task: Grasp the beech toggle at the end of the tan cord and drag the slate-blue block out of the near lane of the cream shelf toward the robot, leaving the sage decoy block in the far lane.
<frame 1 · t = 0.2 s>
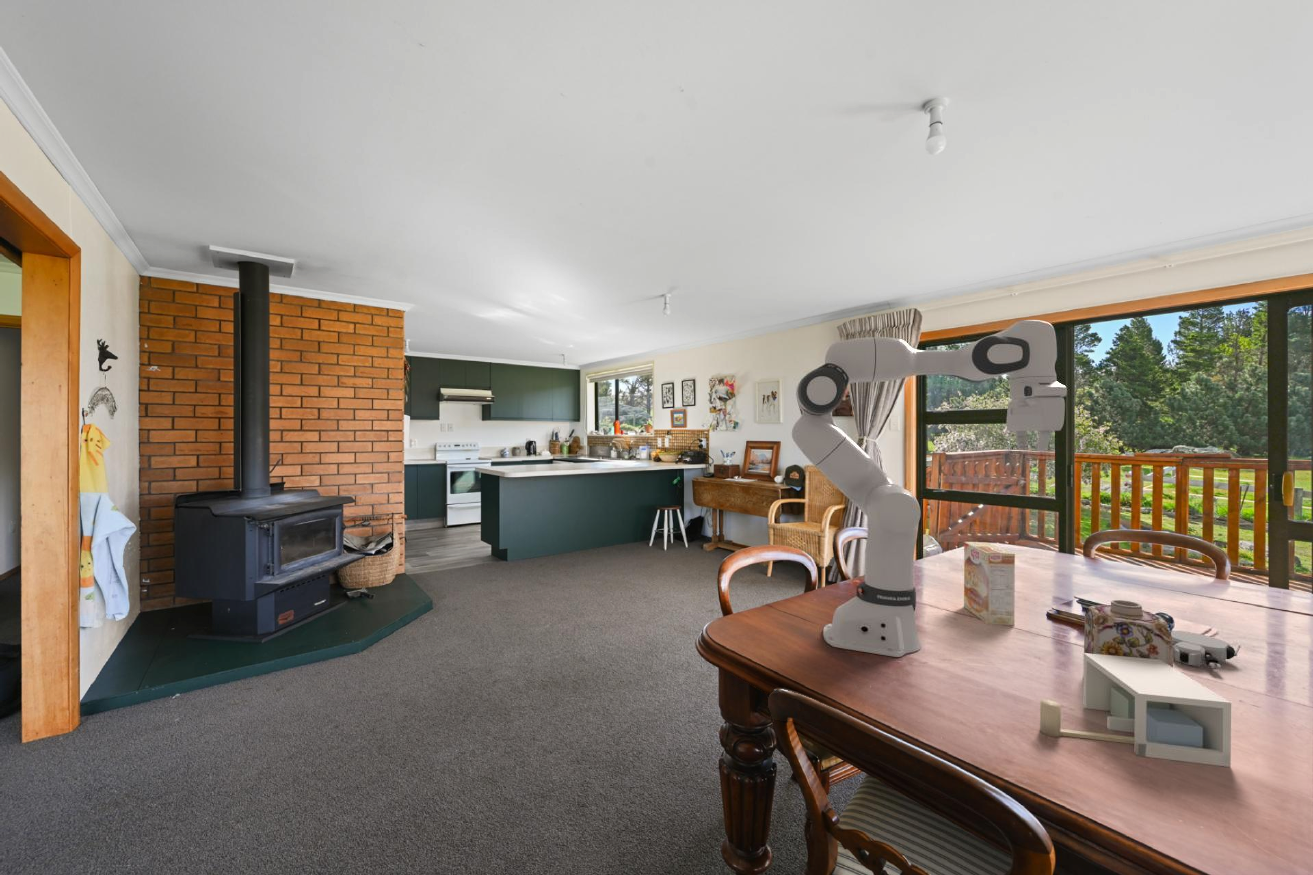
hand: (1032, 450, 122), 48 cm above the table, fingers open, 8 cm apart
decorative jar: (1125, 693, 105), on the table
decoy block: (1138, 722, 94), resting in shelf
robot toy: (1193, 661, 121), on the table
shelf: (1149, 733, 91), on the table
coffeecake box: (987, 616, 149), on the table
corded block: (1168, 746, 87), on the table
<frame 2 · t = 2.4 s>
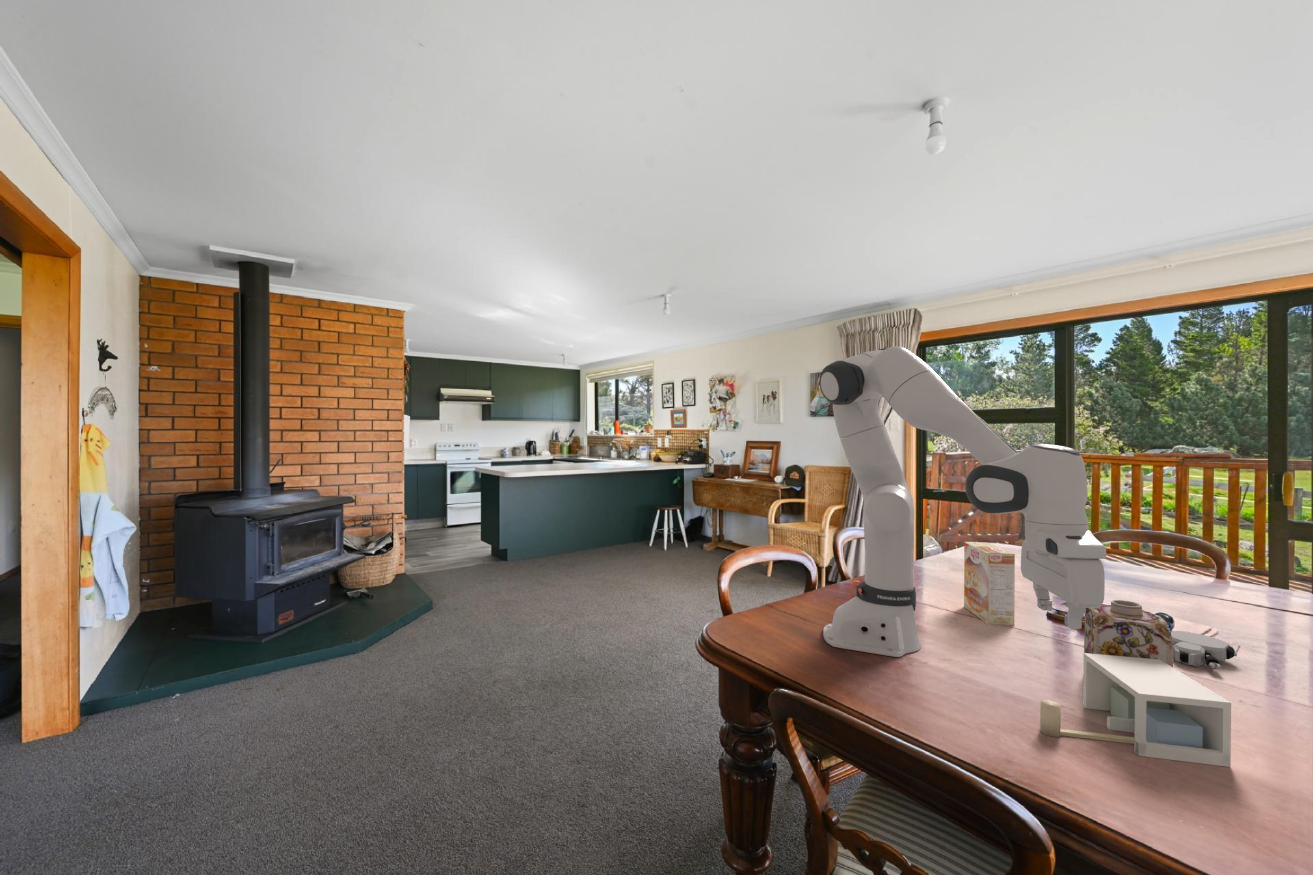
hand: (1058, 617, 91), 20 cm above the table, fingers open, 8 cm apart
nothing on the table moved.
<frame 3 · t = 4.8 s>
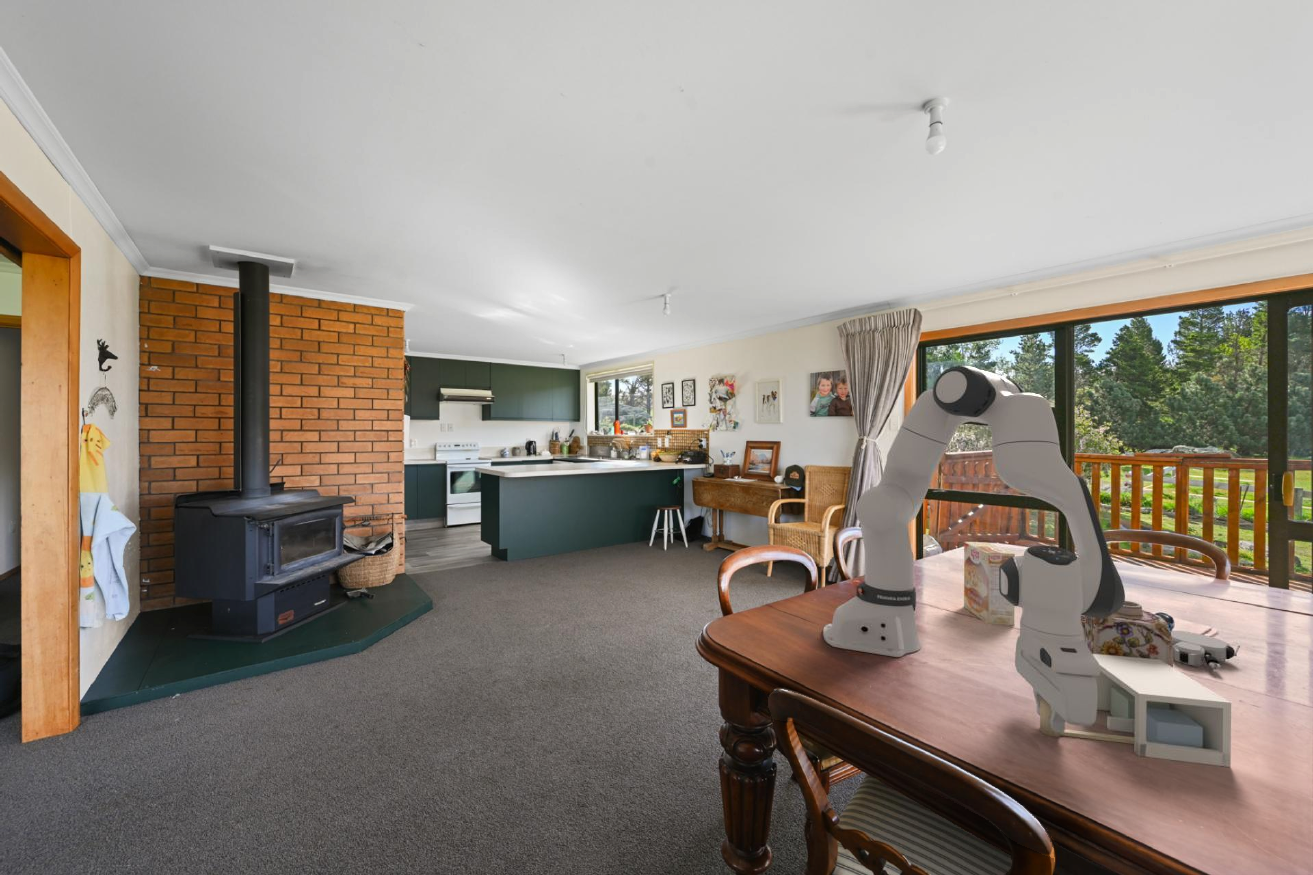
hand: (1050, 723, 91), 2 cm above the table, fingers closed on corded block, 3 cm apart
corded block: (1168, 746, 87), on the table, touching gripper
everything else where it was.
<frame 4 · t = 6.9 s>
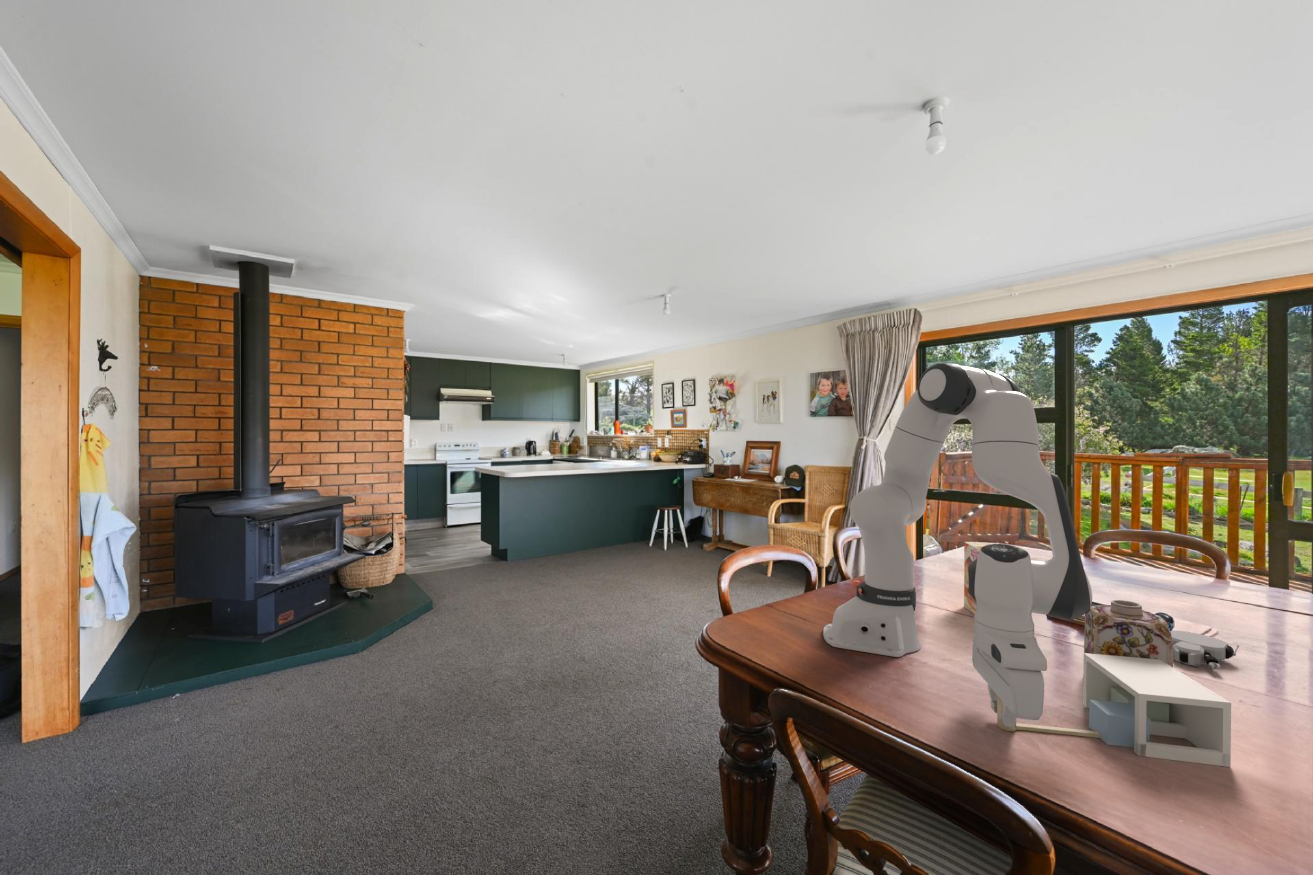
hand: (1002, 717, 93), 2 cm above the table, fingers closed on corded block, 3 cm apart
corded block: (1118, 738, 89), on the table, touching gripper
everything else where it was.
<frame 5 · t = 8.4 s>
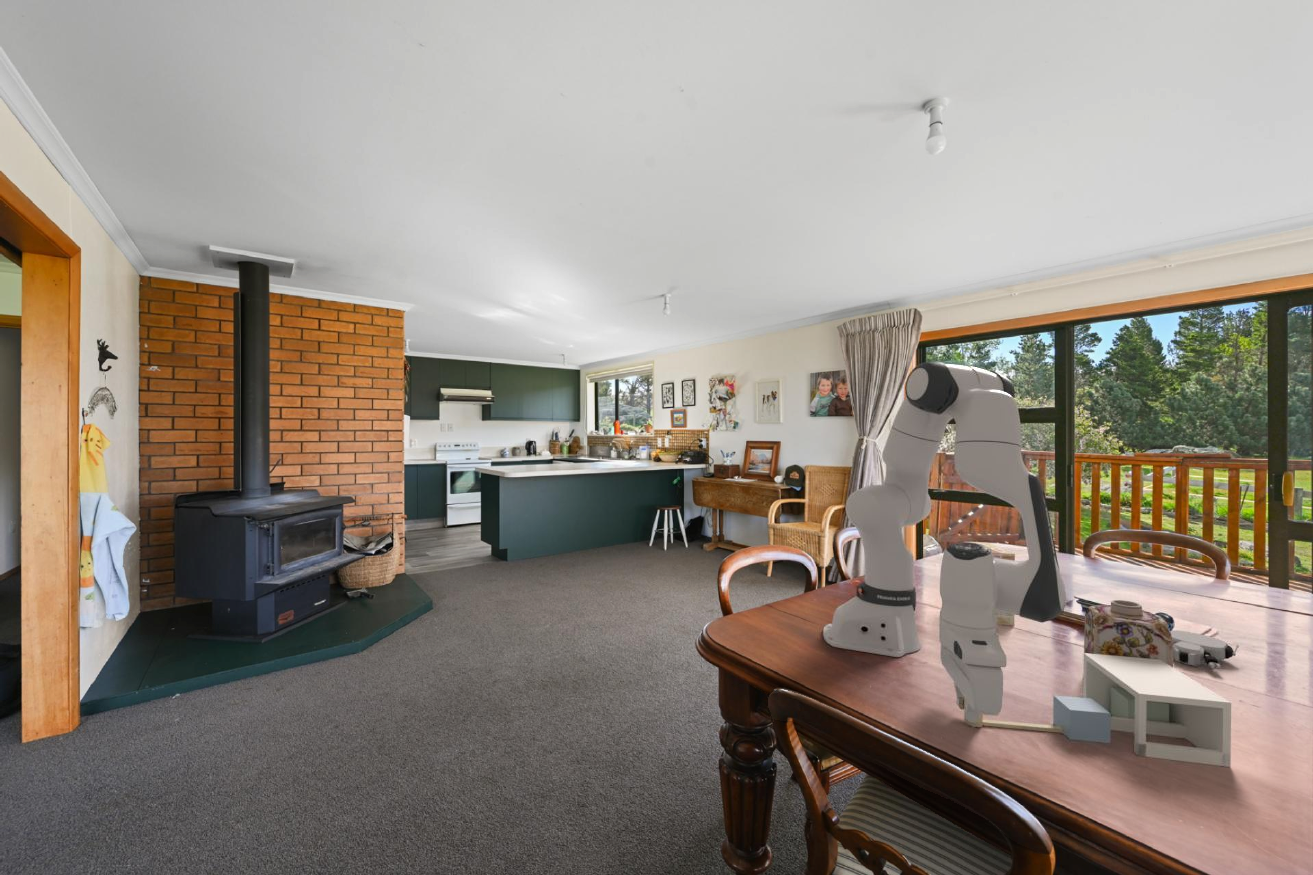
hand: (967, 713, 94), 2 cm above the table, fingers closed on corded block, 3 cm apart
corded block: (1080, 732, 91), on the table, touching gripper
everything else where it was.
when the fingers open (2 cm above the table, at t = 9.3 s): corded block stays where it is, on the table.
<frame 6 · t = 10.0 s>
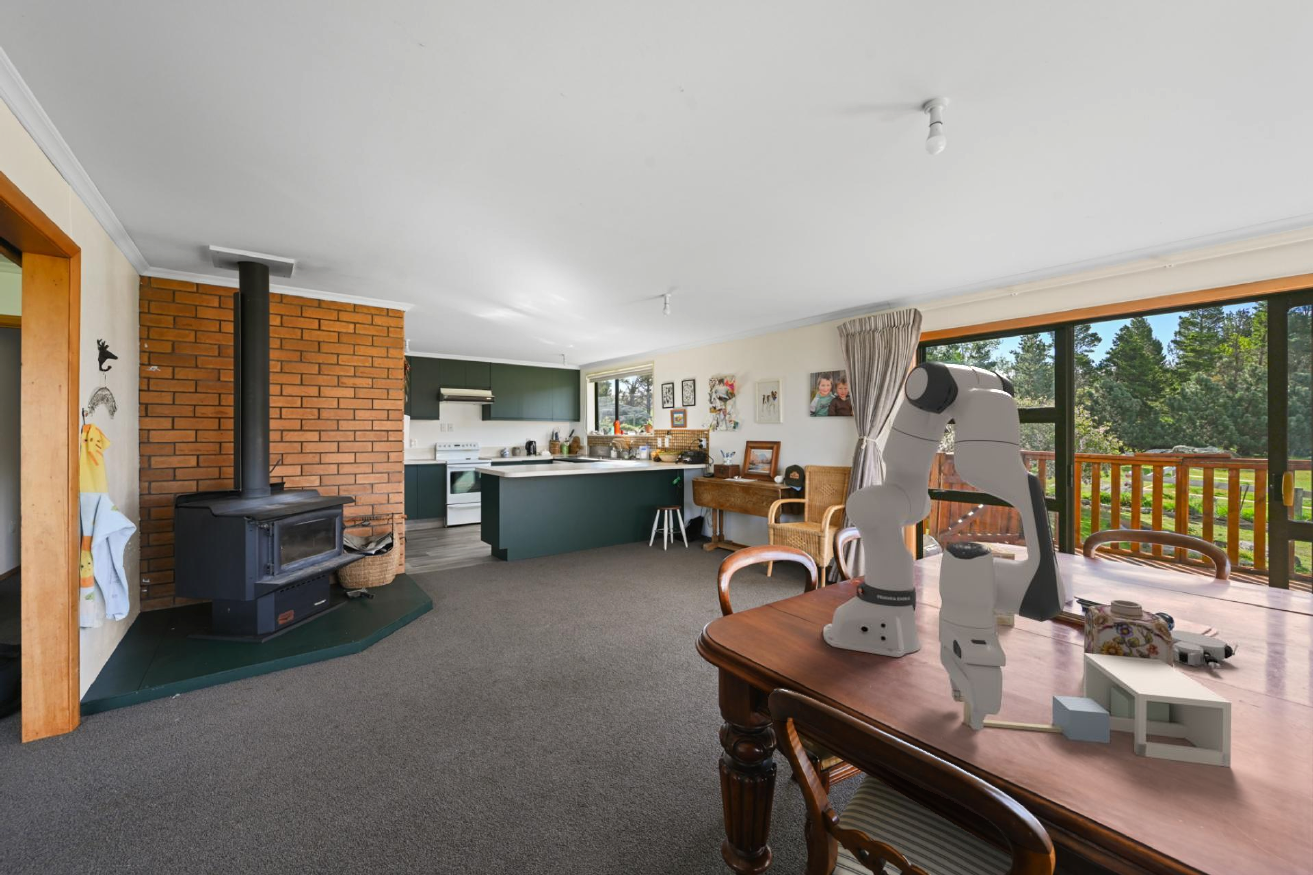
hand: (966, 713, 94), 2 cm above the table, fingers open, 8 cm apart
corded block: (1080, 732, 91), on the table
everything else where it was.
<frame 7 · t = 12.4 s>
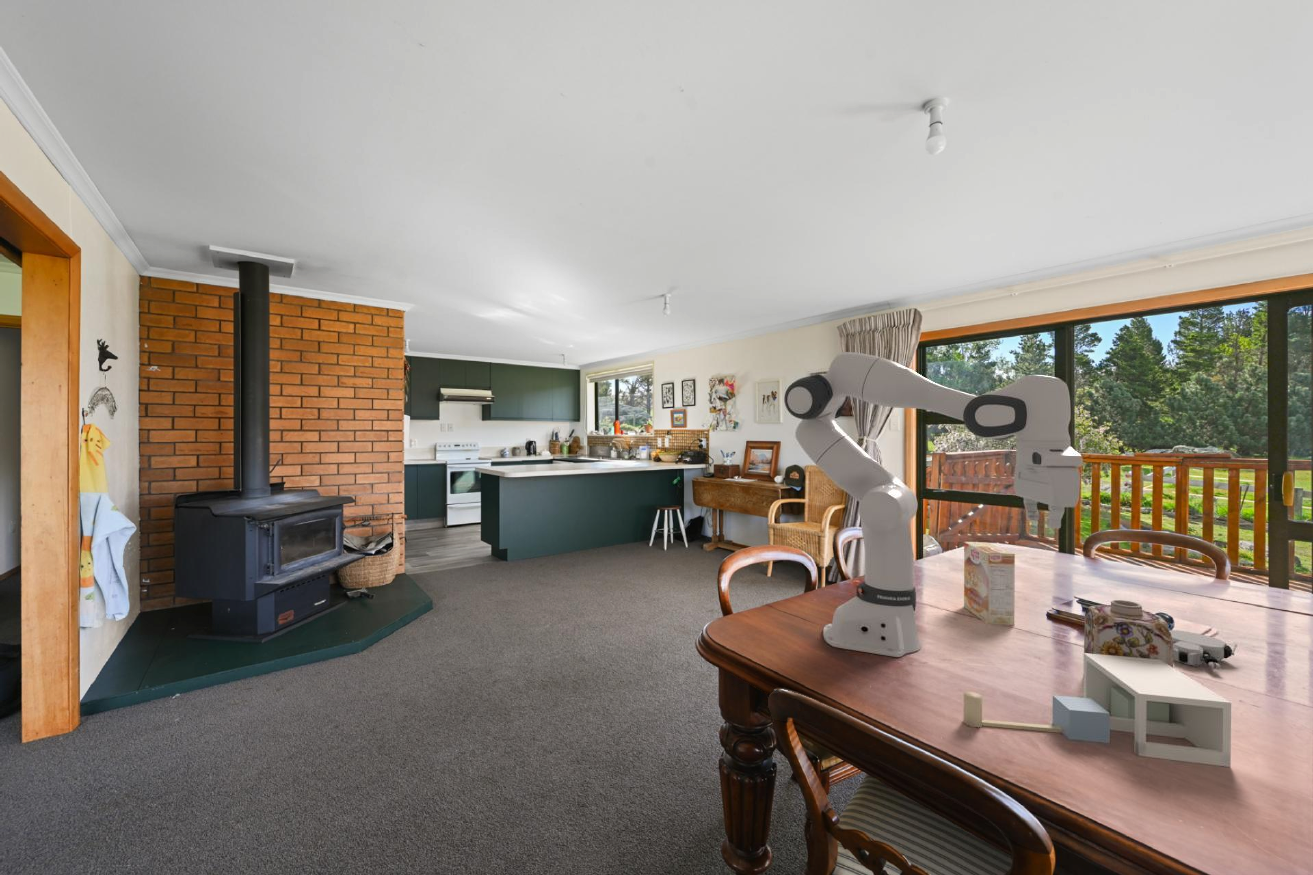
hand: (1042, 524, 106), 33 cm above the table, fingers open, 8 cm apart
nothing on the table moved.
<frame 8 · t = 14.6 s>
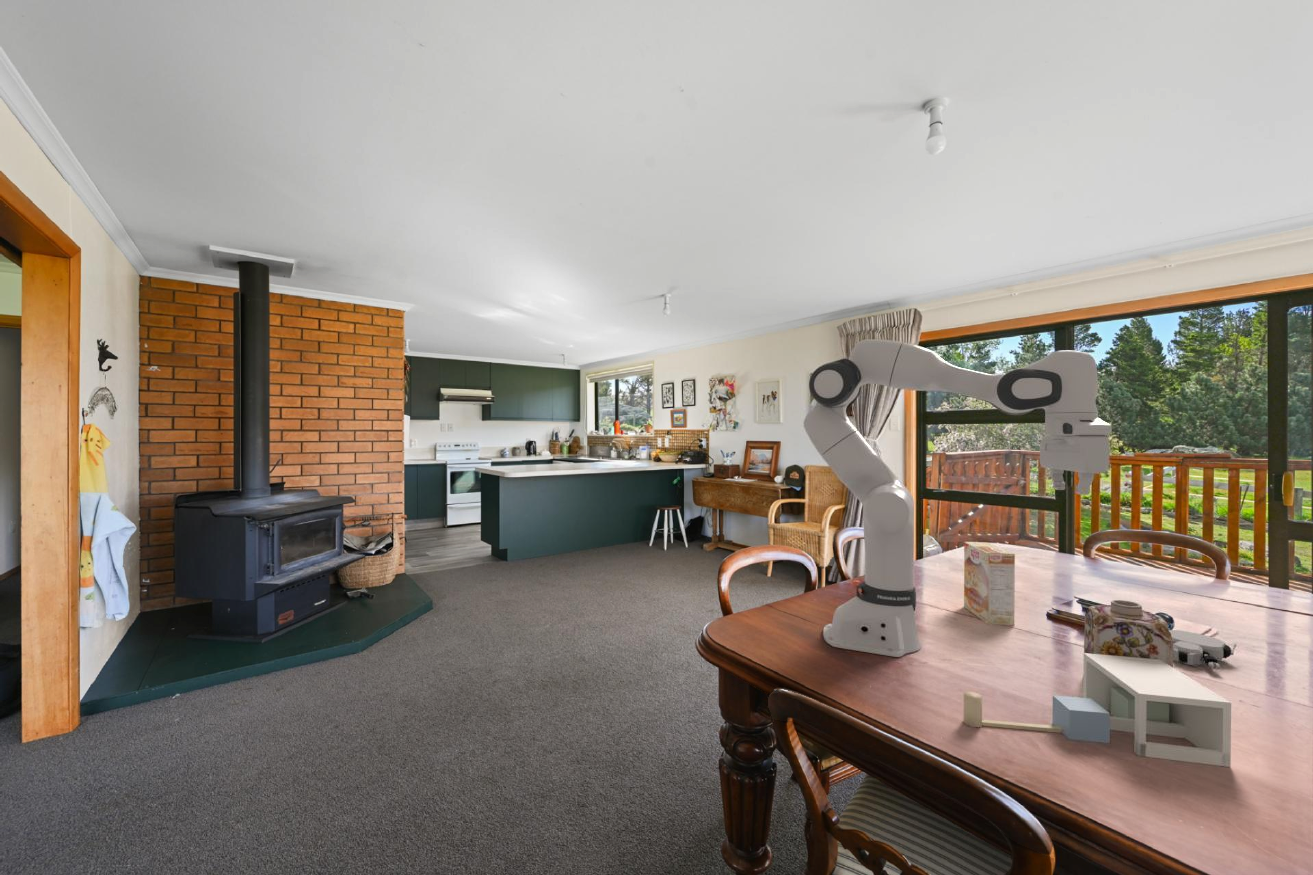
hand: (1070, 492, 112), 39 cm above the table, fingers open, 8 cm apart
nothing on the table moved.
at the end: corded block inside the target area (3.0 cm from its centre), on the table; corded block moved 12.1 cm from its start; the gripper is holding nothing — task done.
